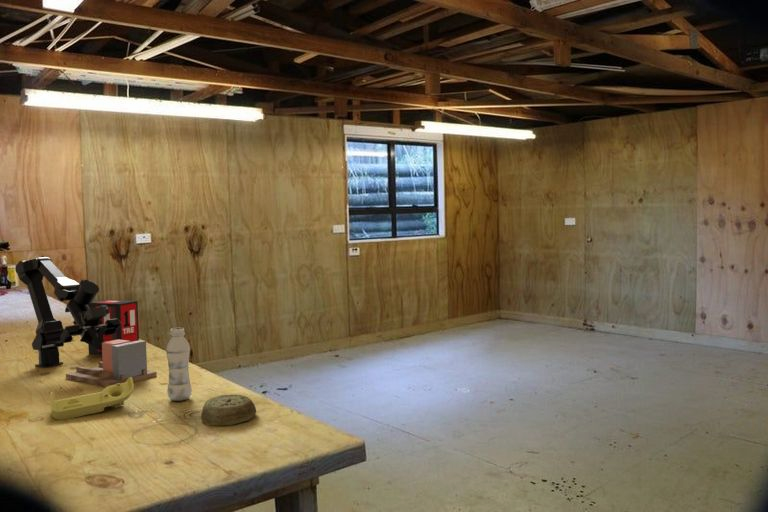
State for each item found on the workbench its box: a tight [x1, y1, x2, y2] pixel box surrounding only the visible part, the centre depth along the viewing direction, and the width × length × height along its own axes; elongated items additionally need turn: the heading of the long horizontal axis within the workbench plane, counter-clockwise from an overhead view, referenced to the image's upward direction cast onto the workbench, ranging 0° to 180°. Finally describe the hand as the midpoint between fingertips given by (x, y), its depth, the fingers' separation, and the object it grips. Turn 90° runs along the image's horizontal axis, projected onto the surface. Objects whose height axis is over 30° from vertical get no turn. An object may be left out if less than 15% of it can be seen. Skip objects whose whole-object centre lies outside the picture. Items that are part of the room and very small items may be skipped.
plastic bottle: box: [165, 327, 193, 402], centre depth 168 cm, size 6×7×20 cm
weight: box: [200, 394, 257, 427], centre depth 152 cm, size 14×13×5 cm
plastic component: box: [50, 377, 135, 420], centre depth 161 cm, size 20×7×10 cm
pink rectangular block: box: [101, 339, 130, 373], centre depth 193 cm, size 6×6×10 cm
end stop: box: [112, 339, 148, 381], centre depth 190 cm, size 3×10×10 cm, turn 148°
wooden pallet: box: [65, 361, 158, 388], centre depth 195 cm, size 24×16×3 cm, turn 58°
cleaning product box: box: [87, 299, 140, 356], centre depth 232 cm, size 16×9×20 cm, turn 68°
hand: (102, 350), depth 197 cm, fingers closed
